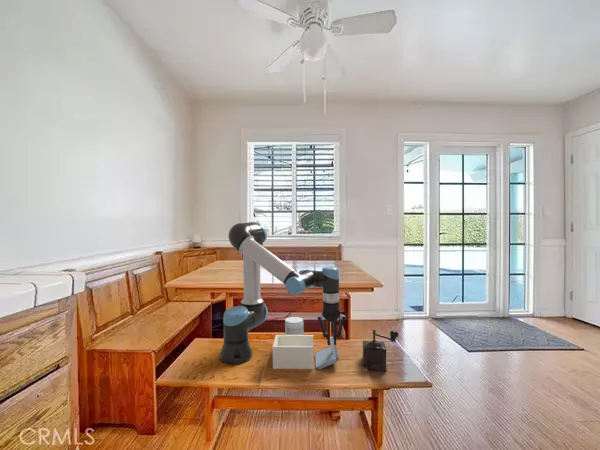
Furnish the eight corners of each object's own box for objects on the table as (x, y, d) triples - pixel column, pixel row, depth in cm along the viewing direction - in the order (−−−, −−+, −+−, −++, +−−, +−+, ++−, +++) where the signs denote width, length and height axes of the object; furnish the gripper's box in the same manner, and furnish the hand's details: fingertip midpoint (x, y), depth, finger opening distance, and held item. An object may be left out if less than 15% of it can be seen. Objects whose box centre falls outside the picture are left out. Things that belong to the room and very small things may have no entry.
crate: (272, 371, 147) (272, 346, 147) (276, 357, 161) (275, 334, 161) (313, 371, 147) (313, 347, 146) (313, 357, 161) (313, 335, 160)
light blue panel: (315, 367, 147) (337, 357, 146) (315, 353, 160) (335, 344, 160) (317, 370, 147) (339, 361, 146) (316, 356, 161) (337, 347, 160)
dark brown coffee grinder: (362, 370, 147) (362, 330, 146) (361, 359, 158) (362, 322, 157) (398, 373, 145) (399, 332, 144) (395, 361, 156) (396, 323, 155)
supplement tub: (307, 348, 170) (307, 320, 170) (291, 353, 165) (291, 324, 164) (297, 342, 178) (296, 315, 178) (281, 346, 173) (281, 318, 172)
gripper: (316, 303, 148) (317, 355, 149) (346, 303, 148) (347, 355, 149) (316, 299, 156) (317, 348, 157) (344, 298, 155) (345, 348, 157)
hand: (331, 351), depth 153 cm, fingers closed
